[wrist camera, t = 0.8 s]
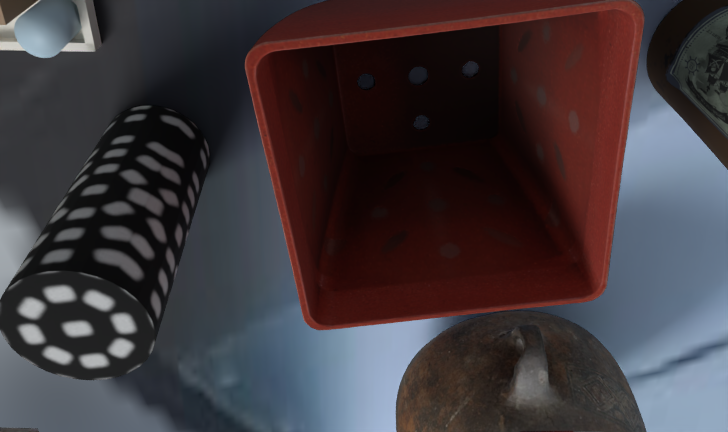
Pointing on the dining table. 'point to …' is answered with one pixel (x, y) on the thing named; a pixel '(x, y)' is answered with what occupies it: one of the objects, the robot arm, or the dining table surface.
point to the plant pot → (446, 152)
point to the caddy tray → (74, 44)
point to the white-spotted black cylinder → (110, 250)
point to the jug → (515, 380)
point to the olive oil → (695, 68)
